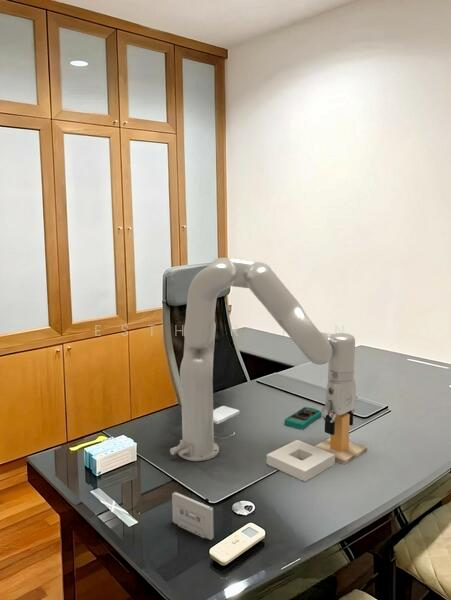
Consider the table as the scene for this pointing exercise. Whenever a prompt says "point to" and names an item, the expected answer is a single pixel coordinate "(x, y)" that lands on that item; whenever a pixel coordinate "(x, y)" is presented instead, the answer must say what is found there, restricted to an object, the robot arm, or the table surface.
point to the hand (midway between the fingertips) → (338, 428)
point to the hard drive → (223, 414)
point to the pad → (347, 454)
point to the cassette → (194, 523)
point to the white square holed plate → (292, 465)
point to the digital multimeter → (303, 418)
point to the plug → (340, 433)
